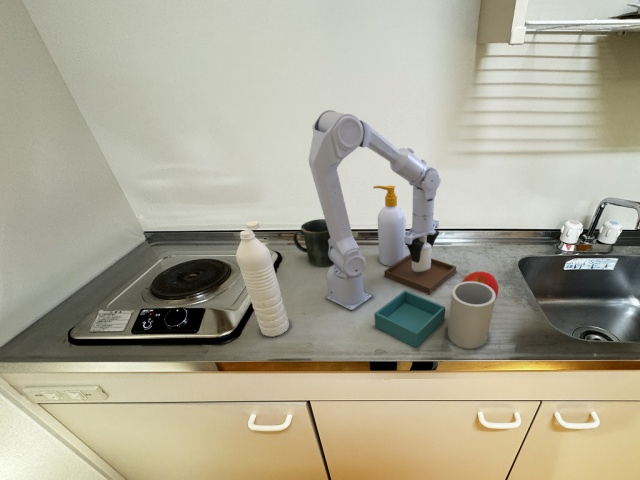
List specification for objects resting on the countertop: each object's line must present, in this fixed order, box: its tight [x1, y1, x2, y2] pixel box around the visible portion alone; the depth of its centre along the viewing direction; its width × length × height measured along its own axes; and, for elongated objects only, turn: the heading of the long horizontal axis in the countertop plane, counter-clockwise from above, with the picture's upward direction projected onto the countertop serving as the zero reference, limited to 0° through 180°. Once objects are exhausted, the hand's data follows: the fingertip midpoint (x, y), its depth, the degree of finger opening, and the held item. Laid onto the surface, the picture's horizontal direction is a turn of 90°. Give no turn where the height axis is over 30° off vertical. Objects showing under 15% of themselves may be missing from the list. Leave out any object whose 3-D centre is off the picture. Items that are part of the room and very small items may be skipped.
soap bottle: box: [372, 185, 406, 267], centre depth 97 cm, size 9×9×24 cm
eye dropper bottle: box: [412, 236, 433, 272], centre depth 92 cm, size 4×6×12 cm
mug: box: [292, 218, 334, 267], centre depth 101 cm, size 11×15×12 cm
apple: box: [461, 270, 499, 301], centre depth 78 cm, size 9×9×12 cm
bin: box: [374, 290, 446, 349], centre depth 76 cm, size 12×12×4 cm
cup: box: [447, 281, 497, 350], centre depth 71 cm, size 9×9×12 cm
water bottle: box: [235, 220, 290, 337], centre depth 70 cm, size 9×6×25 cm
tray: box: [383, 254, 457, 295], centre depth 96 cm, size 16×15×2 cm
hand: (421, 257), depth 93 cm, fingers closed on eye dropper bottle, 5 cm apart
